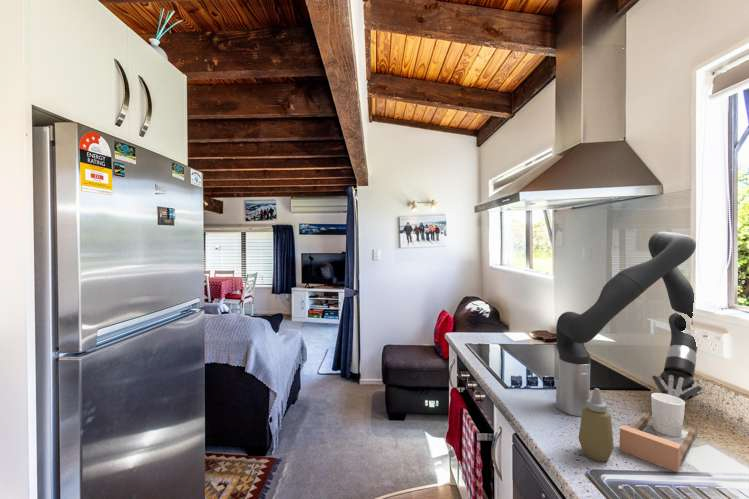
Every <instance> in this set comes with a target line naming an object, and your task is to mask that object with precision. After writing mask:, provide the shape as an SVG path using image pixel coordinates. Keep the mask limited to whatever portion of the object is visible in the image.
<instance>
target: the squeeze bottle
mask: <svg viewBox="0 0 749 499" xmlns="http://www.w3.org/2000/svg"><path fill="white" fill-rule="evenodd" d="M578 441H579V444H580V447H581V450H582V453H583V454H584V456H585V457H587V458H589V459H591V460H594V461H596V462H597V461H598V462H607V461H608V460H609V459H610V457H611V455H612V453H613V451H614V450H615V445H614V435H613V423H612V415H611V413H610V412H609V411H608V404H607V403H606V401H605V402H604V401H603V398H602V395H601V391H600V388H596V387H595V388H594V389H593V393H592V395H591V398H590V399H588V400H587V406H586V407H584V408H583V410H582V416H580V426H579V432H578Z"/></svg>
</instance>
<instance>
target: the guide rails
mask: <svg viewBox="0 0 749 499" xmlns="http://www.w3.org/2000/svg"><path fill="white" fill-rule="evenodd" d="M650 421H651V413H649V412H645V413H644V414H643V415H642V416H641V417H640V418H639V420H638V421H637V422H636V423H635V424H634V425H633V426H632V428H634V429H637V430H640V431H643V430H644V429H645V427H646V426H647V425H648V423H649V422H650ZM697 436H698V427H696V426H692V425H691V427H690V428H689V430H688V432H687V434H686V436H685V438H684V440H683V441H682V443H681V466H680V469H681V467H682V465H683V463H684V462H685V460H686V458H687V455H688V453H689V451H690V449H691V447H692V445H693V443H694V441H695V439H696V437H697Z"/></svg>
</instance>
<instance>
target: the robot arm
mask: <svg viewBox="0 0 749 499" xmlns="http://www.w3.org/2000/svg"><path fill="white" fill-rule="evenodd" d="M647 246H648V251H649V253H650V256H651V257H652V258H651V259H648V260H646V261H644V262H641V263H639V264H635V265H633V266H630V267H627V268H625V269H623V270H621V271H618V273H616V274H615V275H614V276H613V277H612V278H610V279H609V280H608V281H607V282H606V283H605V284H604V286H603V287H602V289H601V291H600V294H599V297H598V299H597V301H596V302H595V303H594V304H593V305H592V306H590V307H589V308H588V309H587V310H586V311H584V312H582V313H577V312H573V311H565V312H563V313H561V314H560V315H559V317H558V319H557V321H556V328H555V329H556V348H557V352H558V379H557V380H556V381H555V387H556V388H555V393H556V394H555V408H557V409H558V410H560V411H562V412H563V413H566V414H569V415H571V416H576V417H582V410H583V408H584V407H586V406H587V400H588V399H591V398H590V394H591V391H590V389H591V355H590V352H589V351H588V349H587V347H586V346H585V343H588V342H591V341H592V340H593V339H594V338H595V337H596V336H597V335H598V334H599V333H600V332H601V331H602V330H603V329H604V328H605V327H606V325H608V324H609V322H610V321H612V319H614V318H615V317H616V316H617V315H618V314H620V312H621V311H623V310H624V309H626V307H627V306H629V305H630V304H631V303H633V302H634V301H635V300H636V299H637V298H639V297H640V296H641V295H642V294H644V292H646V290H648V289H650V287H651V286H652V285H654V284H655V283H656V282H658V281H659V280H660V279H662V281H663V284H664V286H665V288H666V292H667V296H668V300H669V305H670V307H671V309H672V310H673V311H674V313H671V314H670V316H669V317H668V325H669V329H670V336H671V338H670V342H669V343H670V344H669V347H668V351H667V354H666V357H665V364H664V367H663V371H662V372H661V373H660V375H657V376H656V375H652V382H653V383H654V384H655V386H656V387H657V388H658V390H659V392H660V393H662V394H668V395H672V396H675V397H678V398H680V399H682V400H683V401H684V402H686V401H687V402H688V401H690V400H691V399H694V398H695V397H697V396H699V395H701V394H703V389H702V387H701V386H700V385H697V384H696V383H695V380H694V376H695V371H696V366H697V352H698V346H697V347H696V342H695V339H694V337H695V336H694V337H693V335H692V334H690V333H683V332H681V331H683V330H685V328H686V321H685V319H684V318H683V317H682V316H681V315H679V314H677V313H684V314H687V315H688V316H689V317H690V318H692V316H693V313H692V312H693V303H694V295H695V292H693V291H694V289H693V287H692V285H691V283H690V281H689V280H688V279H687V277H686V276H685V275H684V273H682V271H681V270H680V269H679V266H680V265H682V264H684V263H685V261H687V260H688V259H689V258H691V257H692V256H693V254H694V253H695V250H696V247H697V242H696V240H695V238H694V237H692V236H690V235H686V234H683V233H678V232H677V233H676V232H670V231H658V232H655V233H654V234H652V235H651V237H650V238H649V240H648V244H647ZM663 382H664V385H666V387H667V389H666V388H665V386H664V385H663Z"/></svg>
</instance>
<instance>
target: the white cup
mask: <svg viewBox="0 0 749 499" xmlns="http://www.w3.org/2000/svg"><path fill="white" fill-rule="evenodd" d="M650 395H651V396H650V398H651V418H652V428H653V430H655V431H656V432H658V433H660V434H663V435H664V436H667V437H668V436H669V437H675V438H676V437H677V438H678V437H681V436H682V435H683V426H684V419H685V410H686V409H685V407H686V401H684V400H682V399H680V398H678V397H675V395H674V396H672V395H668V394H662V393H661V392H654V393H651V394H650Z"/></svg>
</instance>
